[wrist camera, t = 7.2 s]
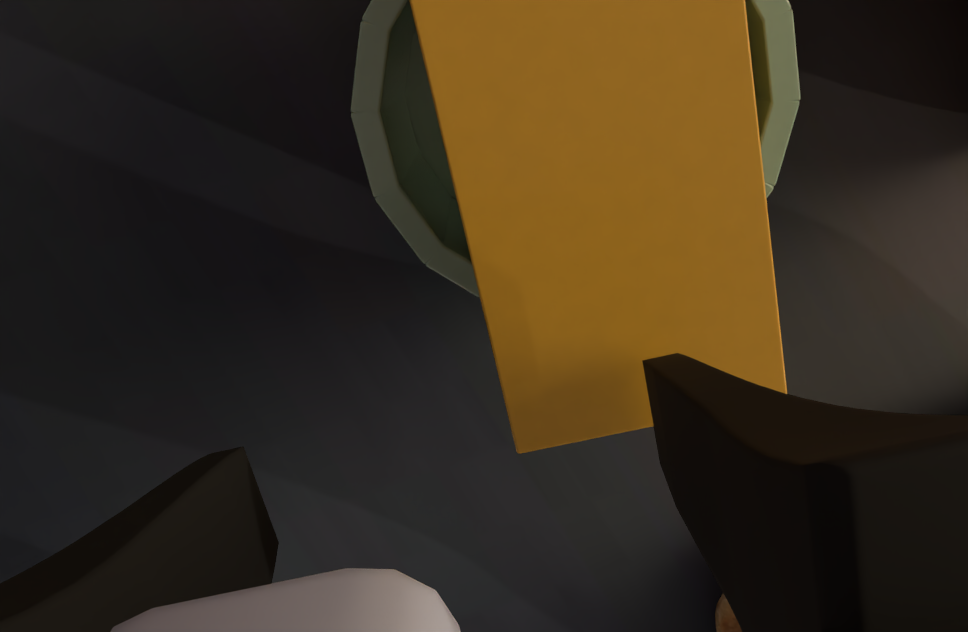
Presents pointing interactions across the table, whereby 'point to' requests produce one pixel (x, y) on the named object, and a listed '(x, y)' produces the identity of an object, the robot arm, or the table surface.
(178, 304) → the table surface
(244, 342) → the table surface
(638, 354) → the block
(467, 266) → the cup
